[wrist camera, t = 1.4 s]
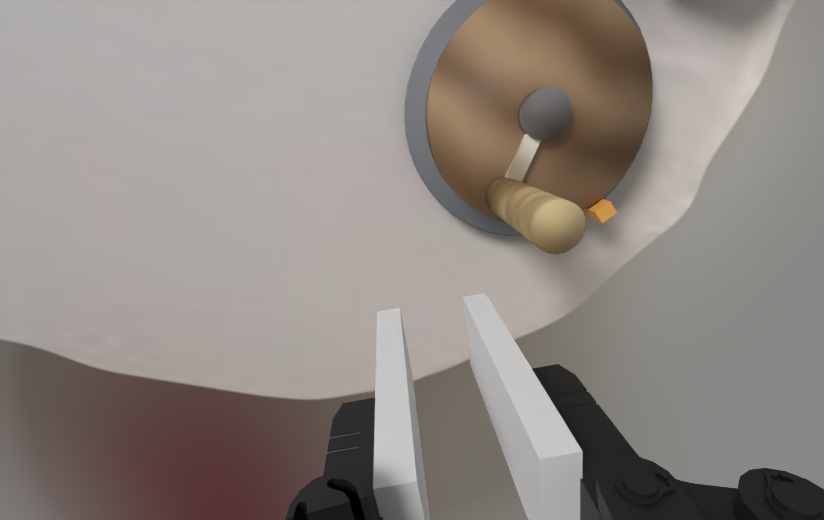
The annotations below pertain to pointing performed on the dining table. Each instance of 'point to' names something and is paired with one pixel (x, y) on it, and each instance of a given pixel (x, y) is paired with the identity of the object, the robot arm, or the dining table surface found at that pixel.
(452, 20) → the dial base
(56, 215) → the dining table surface
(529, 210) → the dial
